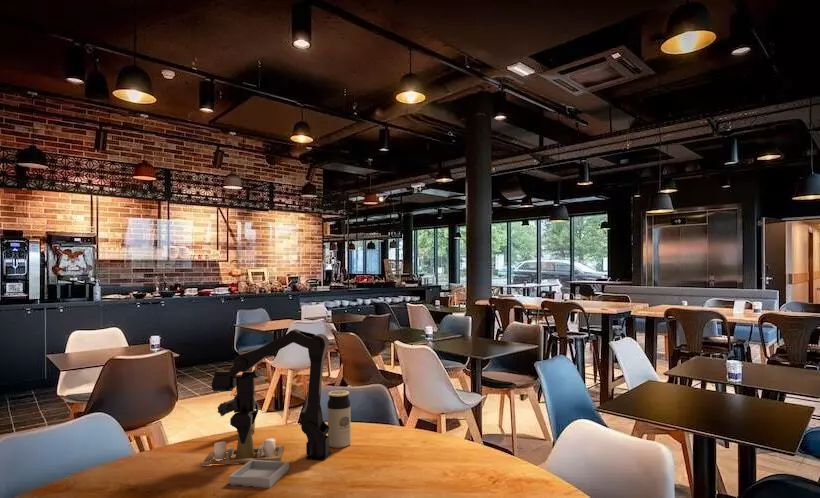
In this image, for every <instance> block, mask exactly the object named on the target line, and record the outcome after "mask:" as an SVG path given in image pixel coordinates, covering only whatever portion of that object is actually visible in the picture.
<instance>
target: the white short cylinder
mask: <svg viewBox="0 0 820 498" xmlns="http://www.w3.org/2000/svg"><path fill="white" fill-rule="evenodd" d="M213 445H214V446H213V447H214V449H213V450H214V457H213V458H215V459H224V458H226V449H227V441H217V442H214V444H213Z"/></svg>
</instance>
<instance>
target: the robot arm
mask: <svg viewBox="0 0 820 498" xmlns="http://www.w3.org/2000/svg"><path fill="white" fill-rule="evenodd" d="M293 343H294V344H296V345H299V346H300V347H303V348H305V349H307V352H308V358H309V362H310V368H309V379H308V393H307V406H306V407H304V408H303V409H302V411H301V412H300V422H299V426H300V428H301V431H302V432H303V434H304V435H305V436H306V439H307V441H306V445H305V446H306V447H305V448H306V450H305V451H306V453H305V455H306V456H305V459H306V460H315V461H325V460H326V459H327V458H328V457H329V456H330V455H331V454H332V451H330V446H329V436H328V431H329V426H328V423H327V422H325V421H324V418H323V410H322V406H321V400H322V399H321V397H322V396H321V394H322V386H323V383H322V382H323V372H324V371H323V370H324V361H325V359H326V355H327V352H328V348H329V345H330V339H329V338H328V336H327V335H326V334H324V333H317V334H315V333H312V332H307V331H302V330H299V329H296V328H295V329H292V330H290V331H288V332H287V333H286V334H284V335H282V336H280V337H278V338H275V339H274V340H272V341H270V342H269V343H266V344H264V345H262V346H261V347H258V348H255V349H251V350H248V351H245V352H243V353H241V354H239V355H237V356H235V358H234V361H233V365H232V366H231V368H230V369H229V370H215V371H214V375H213V378H212V382H211V389H212V391H213V392H232V391H233V390H234V389H236V392H235V393H236V395H235V396H233V399H230V400H226V401H224V402H222V403H220V404H219V405H218V407H217V413H218V414H219V415H220V417H224V416H225V415H226V414H229V413H231V412H233V415H232V416H231V417H230V420H229V423H230V426H231V427H232V428H235V429H236V432H237V431H238V433H237V435H238V434H239V435H238V436H239V437H240V441H241V444H244V443H245V441H246V439H247V436H248V433H249V430H250V427H251V424H254V421H255V422H256V419H257V417H258V416H257V415H258V413H259V410H260V403H259V402H258V401H257V400H255V401H254V399H255V397H256V393H257V392H256V391H255V379H257V378H259V377H261V376H262V374H261V373H260V372H259V371H258V370H257V369H253V370H252V371H249V370H251V369H252V368H254V367H255V366H256V365H258V364H259V363H261V362H262V361H263V360H264V359H265V358H267V357H269V356H270V355H272V354H274V353H276V352H277V351H278V352H279V351H280V350H281V349H284V348H286V347H287V346H289V345H291V344H293ZM239 373H241V374H239ZM254 409H255V411H254ZM238 412H239V413H238Z"/></svg>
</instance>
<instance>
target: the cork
mask: <svg viewBox="0 0 820 498" xmlns="http://www.w3.org/2000/svg"><path fill="white" fill-rule="evenodd" d="M236 432H237V434H238V431H237V430H236ZM252 432H253V424H251V427H250V430H249V433H248V436H247V439H246V441H245V443H244V444H241V441H240V437H239V435H238V436H237V437H238V438H237V445H236V449H237V451H236V453H235V459H247V458H252V457H254V456H256V453H255V452H254V446H255V445H254V440H253V434H252ZM254 458H255V457H254Z"/></svg>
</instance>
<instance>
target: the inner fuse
mask: <svg viewBox="0 0 820 498" xmlns="http://www.w3.org/2000/svg"><path fill="white" fill-rule="evenodd" d="M275 446H276V438H273V437H272V438H271V437H270V438H266V439H264V441H263V447H264V451H263V456H265V457H272V456H273V457H275V456H276V450H275Z"/></svg>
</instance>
